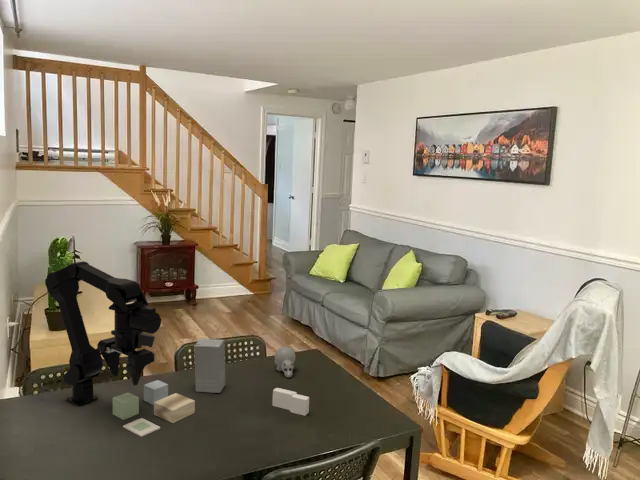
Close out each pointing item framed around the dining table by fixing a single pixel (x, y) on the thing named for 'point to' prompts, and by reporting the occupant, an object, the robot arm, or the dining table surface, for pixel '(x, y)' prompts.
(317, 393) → the dining table surface
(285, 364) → the round bodied animal figurine
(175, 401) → the birch block
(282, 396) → the white stepped block
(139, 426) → the card
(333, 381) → the dining table surface
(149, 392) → the blue-grey cube
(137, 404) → the sage cube
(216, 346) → the skincare box
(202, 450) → the dining table surface
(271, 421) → the dining table surface
